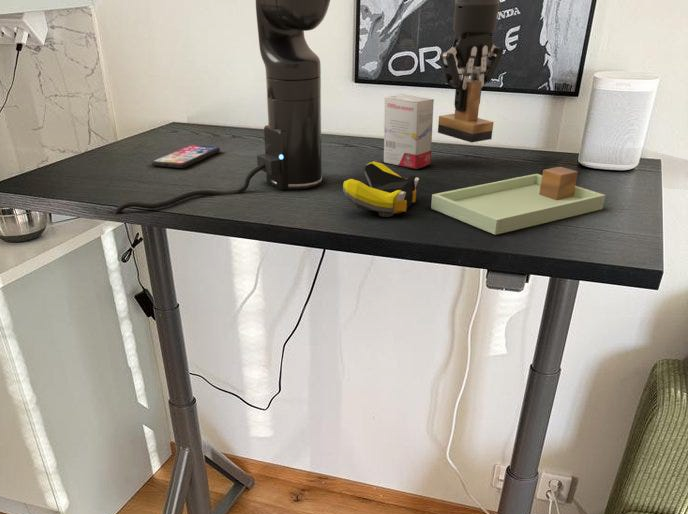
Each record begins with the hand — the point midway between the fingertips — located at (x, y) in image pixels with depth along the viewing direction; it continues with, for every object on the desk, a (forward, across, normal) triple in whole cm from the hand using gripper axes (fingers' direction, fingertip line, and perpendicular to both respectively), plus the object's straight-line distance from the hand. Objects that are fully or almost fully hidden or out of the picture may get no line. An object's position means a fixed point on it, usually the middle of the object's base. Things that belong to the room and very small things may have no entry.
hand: (466, 109), depth 137 cm
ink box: (+10, +9, -6) cm, 15 cm away
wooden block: (+9, +2, +27) cm, 29 cm away
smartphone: (+10, +44, -33) cm, 56 cm away
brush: (+5, 0, 0) cm, 5 cm away
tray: (+10, +11, +27) cm, 31 cm away
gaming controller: (+10, +29, +14) cm, 34 cm away
